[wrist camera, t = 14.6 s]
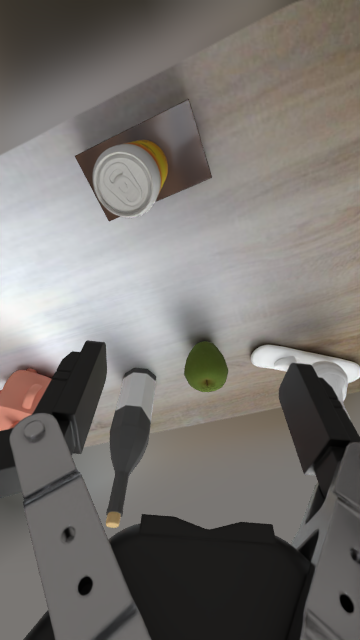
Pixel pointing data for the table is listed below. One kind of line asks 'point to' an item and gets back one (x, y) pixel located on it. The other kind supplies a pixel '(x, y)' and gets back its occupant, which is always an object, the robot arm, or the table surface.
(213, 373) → the apple
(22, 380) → the teapot
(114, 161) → the beer can
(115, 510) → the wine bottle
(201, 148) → the shelf
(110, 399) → the table surface
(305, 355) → the figurine
